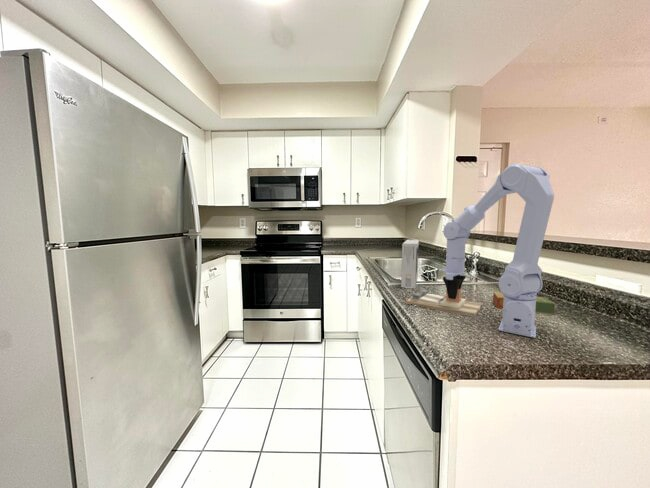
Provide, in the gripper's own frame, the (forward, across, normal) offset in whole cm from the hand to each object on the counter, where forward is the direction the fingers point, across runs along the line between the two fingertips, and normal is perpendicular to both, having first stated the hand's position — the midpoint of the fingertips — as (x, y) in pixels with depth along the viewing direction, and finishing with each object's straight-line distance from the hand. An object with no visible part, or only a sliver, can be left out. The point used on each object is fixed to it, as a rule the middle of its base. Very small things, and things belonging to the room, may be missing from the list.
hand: (453, 297), depth 95 cm
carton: (+4, -14, +19) cm, 24 cm away
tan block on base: (+2, 0, 0) cm, 2 cm away
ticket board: (+3, 0, -3) cm, 5 cm away
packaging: (+4, -30, -26) cm, 40 cm away
